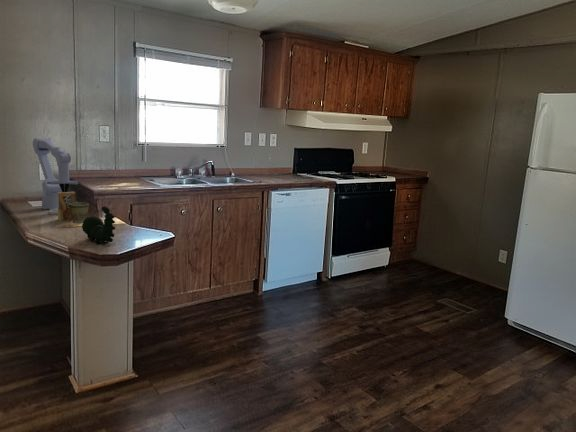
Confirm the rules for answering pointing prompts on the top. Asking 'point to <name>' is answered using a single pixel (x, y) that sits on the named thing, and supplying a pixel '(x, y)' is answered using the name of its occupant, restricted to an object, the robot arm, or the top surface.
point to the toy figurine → (99, 227)
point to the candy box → (65, 204)
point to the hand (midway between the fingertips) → (64, 196)
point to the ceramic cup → (79, 211)
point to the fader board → (53, 212)
